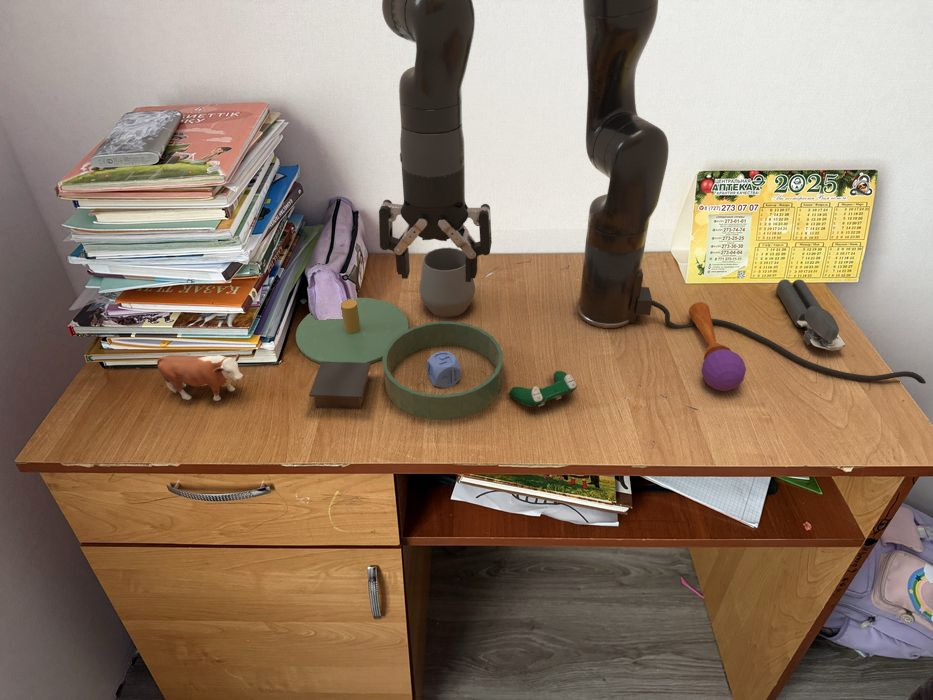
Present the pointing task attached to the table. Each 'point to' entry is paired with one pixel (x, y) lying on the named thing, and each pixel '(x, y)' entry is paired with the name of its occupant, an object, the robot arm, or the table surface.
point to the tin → (450, 403)
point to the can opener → (810, 315)
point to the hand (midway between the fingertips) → (437, 277)
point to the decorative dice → (443, 369)
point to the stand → (340, 385)
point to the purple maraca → (717, 354)
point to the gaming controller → (544, 390)
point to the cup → (445, 282)
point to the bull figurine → (199, 372)
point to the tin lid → (352, 332)
